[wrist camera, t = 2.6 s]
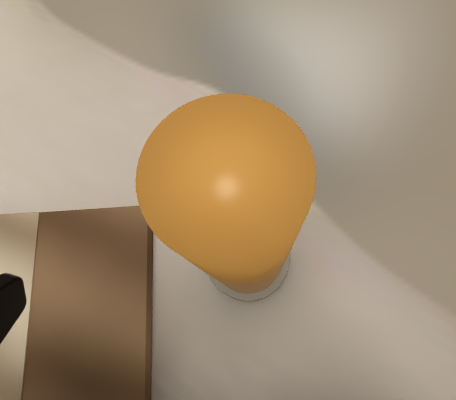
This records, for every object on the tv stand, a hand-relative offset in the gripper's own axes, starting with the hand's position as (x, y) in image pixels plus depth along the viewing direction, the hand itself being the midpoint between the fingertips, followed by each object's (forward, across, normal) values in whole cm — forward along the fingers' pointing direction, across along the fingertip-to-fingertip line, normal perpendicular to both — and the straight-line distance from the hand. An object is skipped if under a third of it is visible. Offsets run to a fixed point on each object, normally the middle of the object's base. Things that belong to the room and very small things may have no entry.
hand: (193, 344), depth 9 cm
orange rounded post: (+10, 0, +5) cm, 11 cm away
